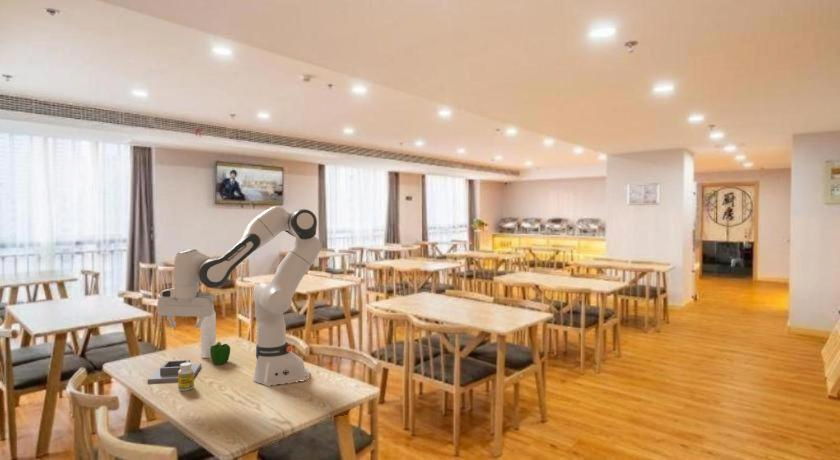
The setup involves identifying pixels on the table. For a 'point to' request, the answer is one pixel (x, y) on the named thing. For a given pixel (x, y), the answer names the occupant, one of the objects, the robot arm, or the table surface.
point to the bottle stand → (170, 371)
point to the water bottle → (208, 335)
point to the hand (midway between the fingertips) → (185, 327)
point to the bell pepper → (220, 353)
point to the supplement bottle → (185, 377)
